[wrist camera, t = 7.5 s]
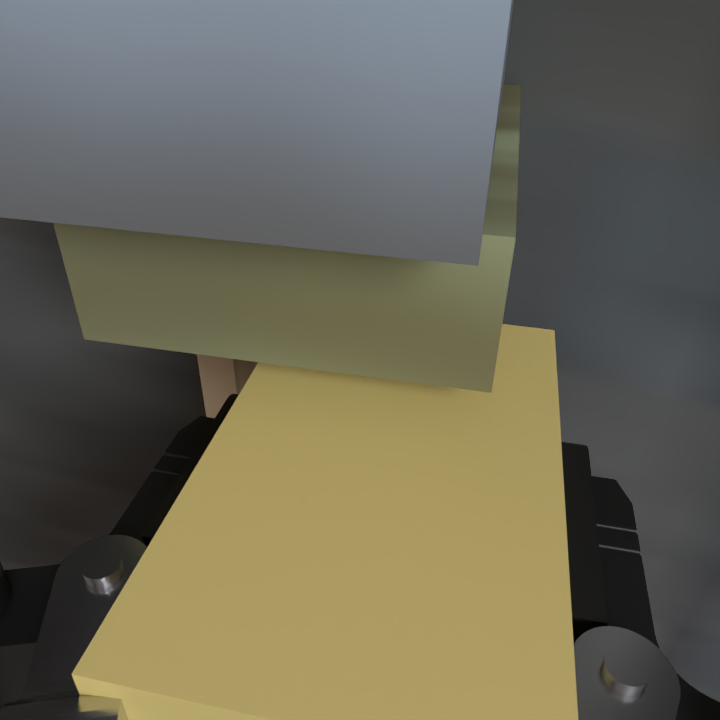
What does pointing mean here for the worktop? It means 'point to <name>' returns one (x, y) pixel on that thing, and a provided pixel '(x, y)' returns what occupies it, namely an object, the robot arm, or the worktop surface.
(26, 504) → the worktop surface
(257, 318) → the row of books
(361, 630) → the butter yellow brick
